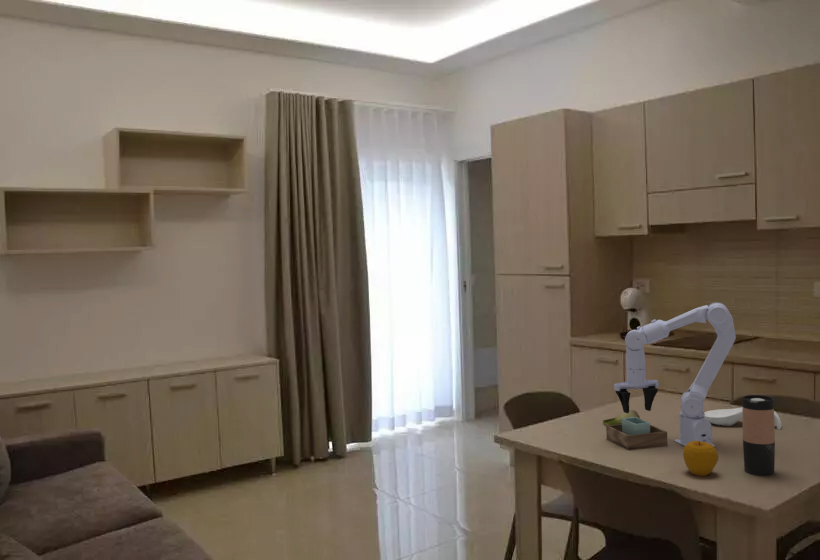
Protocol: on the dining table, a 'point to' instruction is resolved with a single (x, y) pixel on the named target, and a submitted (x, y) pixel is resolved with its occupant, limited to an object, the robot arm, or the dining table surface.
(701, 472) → the apple
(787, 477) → the dining table surface
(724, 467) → the dining table surface
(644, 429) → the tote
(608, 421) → the fennel bulb
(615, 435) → the crate
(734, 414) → the spoon rest
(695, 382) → the robot arm
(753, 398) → the travel mug
